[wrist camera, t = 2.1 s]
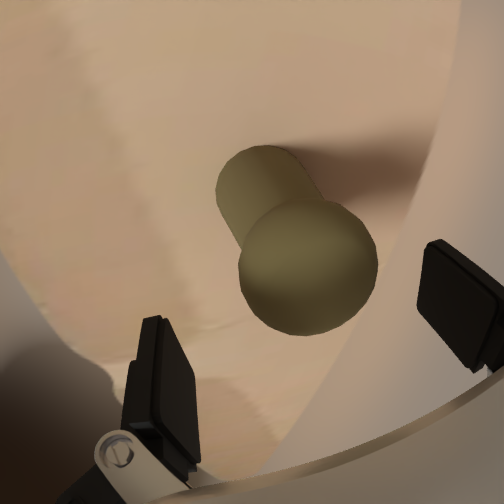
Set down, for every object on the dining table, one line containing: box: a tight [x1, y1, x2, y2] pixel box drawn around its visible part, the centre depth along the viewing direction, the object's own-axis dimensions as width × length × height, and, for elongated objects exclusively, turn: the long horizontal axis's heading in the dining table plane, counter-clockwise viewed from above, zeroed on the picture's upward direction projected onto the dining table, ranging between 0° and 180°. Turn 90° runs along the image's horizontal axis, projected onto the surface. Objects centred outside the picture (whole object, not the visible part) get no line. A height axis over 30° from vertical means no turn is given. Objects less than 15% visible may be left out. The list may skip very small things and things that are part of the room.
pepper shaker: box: [216, 145, 378, 336], centre depth 14 cm, size 6×6×11 cm
